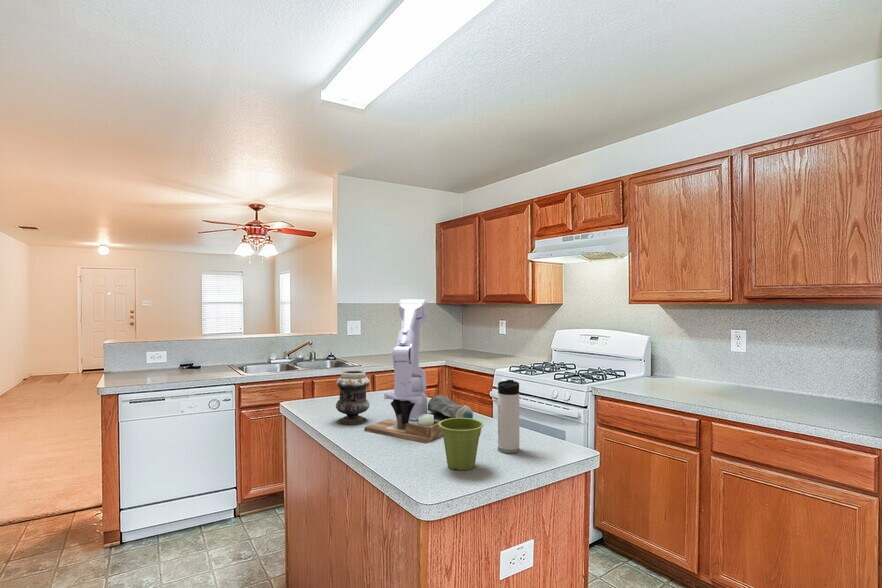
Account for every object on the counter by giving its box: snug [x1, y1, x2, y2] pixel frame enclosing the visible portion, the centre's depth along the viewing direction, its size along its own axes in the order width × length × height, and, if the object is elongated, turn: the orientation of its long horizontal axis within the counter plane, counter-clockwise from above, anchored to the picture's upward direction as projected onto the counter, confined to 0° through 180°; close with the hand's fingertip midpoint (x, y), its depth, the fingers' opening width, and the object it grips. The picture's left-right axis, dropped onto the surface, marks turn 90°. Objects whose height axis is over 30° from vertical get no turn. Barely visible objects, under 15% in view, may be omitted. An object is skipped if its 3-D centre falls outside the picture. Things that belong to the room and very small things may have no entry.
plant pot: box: [439, 417, 484, 471], centre depth 123 cm, size 12×12×11 cm
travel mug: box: [497, 379, 520, 454], centre depth 136 cm, size 6×7×20 cm
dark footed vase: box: [335, 369, 370, 425], centre depth 168 cm, size 12×12×18 cm
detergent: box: [427, 395, 474, 419], centre depth 172 cm, size 13×7×25 cm
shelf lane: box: [364, 419, 443, 444], centre depth 154 cm, size 12×25×4 cm, turn 57°
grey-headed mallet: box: [396, 413, 435, 429], centre depth 152 cm, size 5×13×5 cm, turn 57°
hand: (402, 422), depth 155 cm, fingers closed on grey-headed mallet, 2 cm apart
